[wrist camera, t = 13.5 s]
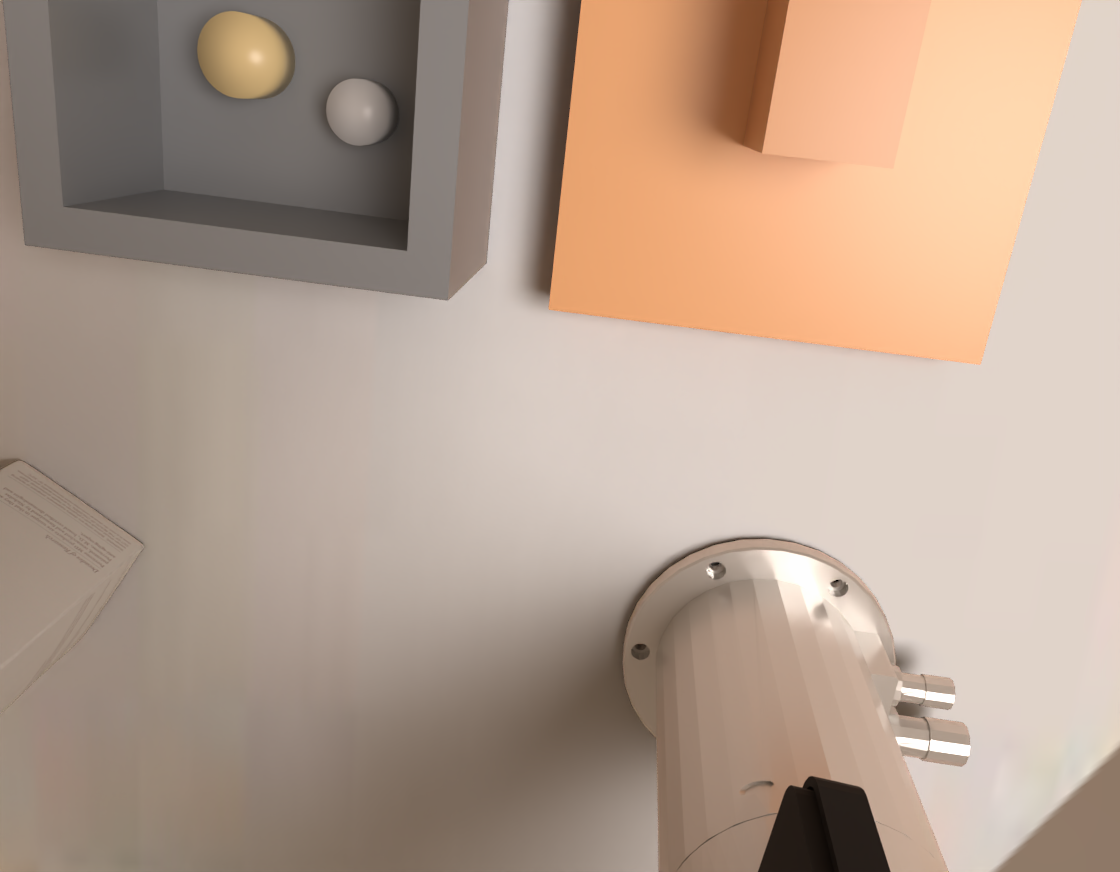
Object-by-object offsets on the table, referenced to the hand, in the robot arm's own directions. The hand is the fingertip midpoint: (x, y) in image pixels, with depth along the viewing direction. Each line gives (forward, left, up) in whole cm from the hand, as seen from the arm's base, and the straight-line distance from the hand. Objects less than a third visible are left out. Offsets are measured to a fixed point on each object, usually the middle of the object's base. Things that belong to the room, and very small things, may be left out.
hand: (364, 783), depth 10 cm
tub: (+11, -11, -30) cm, 34 cm away
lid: (-8, -11, -30) cm, 33 cm away
